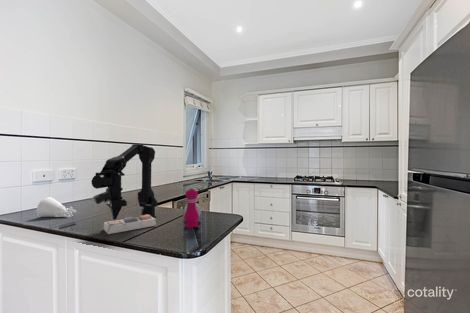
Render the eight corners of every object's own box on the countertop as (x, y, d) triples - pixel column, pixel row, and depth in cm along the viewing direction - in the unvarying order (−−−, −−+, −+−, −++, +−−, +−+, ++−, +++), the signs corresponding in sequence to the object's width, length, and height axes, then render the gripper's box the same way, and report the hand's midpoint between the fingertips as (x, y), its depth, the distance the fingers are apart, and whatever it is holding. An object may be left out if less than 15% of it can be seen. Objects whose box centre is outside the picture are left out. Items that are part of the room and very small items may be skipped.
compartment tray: (149, 221, 127) (149, 215, 127) (155, 225, 120) (155, 218, 120) (103, 229, 113) (103, 222, 113) (108, 234, 106) (108, 226, 106)
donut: (201, 220, 130) (201, 201, 130) (198, 222, 126) (198, 203, 127) (186, 218, 133) (186, 200, 134) (182, 220, 130) (182, 201, 130)
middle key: (133, 220, 120) (133, 216, 120) (136, 222, 116) (136, 218, 116) (124, 221, 117) (124, 217, 117) (126, 223, 113) (126, 219, 113)
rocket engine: (77, 200, 138) (49, 193, 140) (62, 216, 129) (32, 208, 131) (83, 212, 145) (57, 205, 147) (69, 228, 137) (42, 220, 139)
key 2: (148, 218, 124) (148, 214, 124) (151, 219, 121) (151, 215, 121) (138, 219, 121) (138, 215, 121) (141, 221, 118) (141, 217, 118)
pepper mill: (184, 224, 122) (185, 185, 122) (199, 224, 122) (199, 184, 122) (183, 228, 114) (183, 186, 115) (198, 228, 115) (198, 186, 115)
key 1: (118, 225, 115) (118, 221, 115) (121, 227, 112) (121, 223, 112) (108, 226, 112) (108, 222, 112) (110, 229, 109) (110, 224, 109)
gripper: (91, 185, 114) (91, 218, 114) (98, 189, 100) (98, 227, 100) (116, 183, 121) (116, 214, 121) (127, 187, 107) (127, 222, 107)
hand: (114, 219), depth 112 cm, fingers closed
